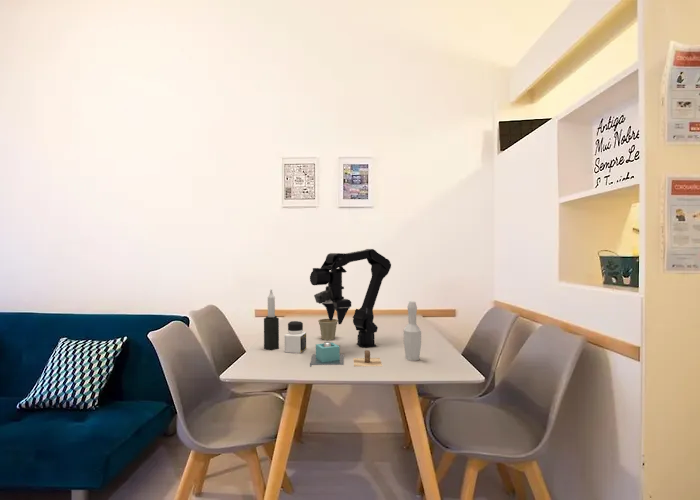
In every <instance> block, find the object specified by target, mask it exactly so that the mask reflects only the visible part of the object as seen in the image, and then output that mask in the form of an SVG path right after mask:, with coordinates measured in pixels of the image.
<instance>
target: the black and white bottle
mask: <svg viewBox="0 0 700 500" xmlns="http://www.w3.org/2000/svg"><path fill="white" fill-rule="evenodd" d="M273 293H274V292H273V289H272V288H271V289H270V290H269V294H268V296H267V315H266V316H265V317H264V318H263V349H264V350H267V351H274V350H279V348H280V335H279V334H280V329H279V327H280V326H279V325H280V319H279V317H278V316H277V315H276V314H275V313H276V308H275V307H276V304H275V303H276V302H275V299H276V297H275V296H274V294H273Z"/></svg>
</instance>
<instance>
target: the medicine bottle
mask: <svg viewBox="0 0 700 500" xmlns="http://www.w3.org/2000/svg"><path fill="white" fill-rule="evenodd" d="M303 329H304V323H303V322H302V321H300V320H292V321H289V322H288V323H287V331H288V332H287V333H286V334H284V335H283V336H284V337H283V338H284V342H283V343H284V344H283V345H284V346H283V347H284V351H283V352H284V353H291V354H301V353H303V352H304V351H305V350H306V349H307V332H306V331H303Z"/></svg>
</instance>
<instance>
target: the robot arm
mask: <svg viewBox="0 0 700 500" xmlns="http://www.w3.org/2000/svg"><path fill="white" fill-rule="evenodd" d="M363 260H367V262H368V264H369V265H370V267H371V268H370V272H371V278H370V280H369V284H368V286H367V290H366V293H365V296H364V299H363V302H362V305H361V307H360V308H355V310H354V314H353V316H352V323H353V326H354V327H355V329H356V331H358V332H357V333H358V334H357V343H356V345H357V346H359V347H361V348H365V349H366V348H373V347H376V346H377V344H376V343H375V333H377V332H378V328H379V327H378V326H377V325H376V323H375V322H374V318H375V317H374V311H373V310H374V307H375V305H376V302H377V298H378V295H379V291H380V289H381V286H382V283H383V280H384V279H385V278H386V277H387V275H388V274H389V272H390V270H391V268H392V263H391V261H390V260H389V258H386V257H385V256H384V255H382V254H380V253H379V252H378V251H377V250H375V249H374V248H366V249H363V250H357V251H352V252H345V253H342V252H341V253H338V252H337V253H335V252H334V253H333V252H330V253H328V254H327V255H326V257H325V260H324V262H323V263H322V265H321V267H313V268H312V271H311V273H310V275H309V282H310V284H311V285H312V286H323V285H325V286H326V287H325V290H323V291H320V292H318V293H316V294H314V295H313V297H314V300H315V302H316V303H318V304H321V305H323V307H325V310H326V312H327V315H328V316H327V317H328V319H329V320H330V321H331V320H332V319H334V315H335V311H336V316H337V320H338V322H337V325H342V323H343V321H344V319H345V317H346V315H347V313H348V311H349V309H350V308H351V307H352V301H351V300H350V299H349V298H345V297H344V296H343V290H344V289H345V286H343V273H345V274H346V273H347V270H346V269H345V268H344V267H345V266H346V265H348V264H349V263H352V262H358V261H363Z"/></svg>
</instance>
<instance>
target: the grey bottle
mask: <svg viewBox="0 0 700 500" xmlns="http://www.w3.org/2000/svg"><path fill="white" fill-rule="evenodd" d="M417 312H418V307H417V302H416V301H412V300H411V301H408V304H407V317H408V318H407V320H408V321H407V322H408V323H407V324H406V326H404V329H403V346H404V354H405V359H406V360H407V361H411V362H412V361H419V360H420V355H421V347H422V330H421V329H420V327H419V325H417V314H418V313H417Z"/></svg>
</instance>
